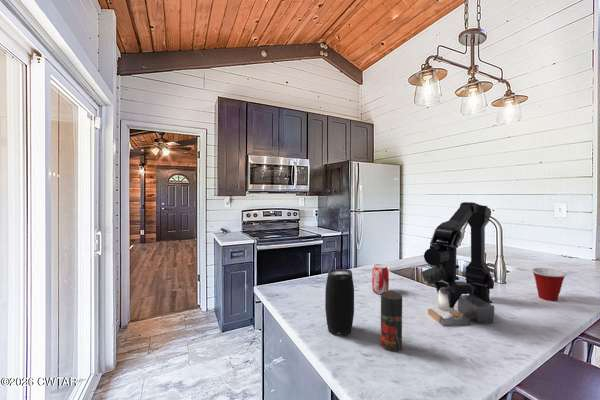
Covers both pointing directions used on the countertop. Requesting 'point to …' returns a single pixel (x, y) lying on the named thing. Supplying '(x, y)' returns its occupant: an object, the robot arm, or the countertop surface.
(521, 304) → the countertop surface
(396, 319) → the deodorant
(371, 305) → the countertop surface
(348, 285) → the portable speaker
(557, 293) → the plastic cup
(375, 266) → the soda can
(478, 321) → the grey angular piece
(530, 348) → the countertop surface
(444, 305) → the white rounded cylinder
